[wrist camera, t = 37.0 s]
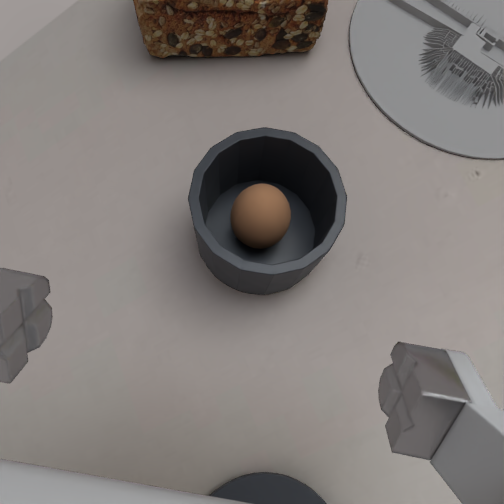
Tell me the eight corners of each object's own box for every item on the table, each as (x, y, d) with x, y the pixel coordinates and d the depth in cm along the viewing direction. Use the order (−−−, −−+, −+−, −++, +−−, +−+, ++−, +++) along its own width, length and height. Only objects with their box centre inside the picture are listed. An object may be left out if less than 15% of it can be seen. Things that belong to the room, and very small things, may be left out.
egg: (290, 250, 38) (306, 221, 31) (237, 263, 38) (240, 236, 30) (275, 201, 40) (287, 161, 32) (224, 212, 39) (223, 174, 31)
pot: (245, 320, 37) (251, 306, 29) (172, 218, 39) (158, 178, 31) (346, 247, 39) (377, 215, 31) (272, 155, 42) (283, 103, 33)
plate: (626, 47, 49) (636, 39, 47) (512, 210, 42) (520, 205, 40) (433, -77, 52) (438, -87, 51) (299, 54, 45) (301, 45, 44)
